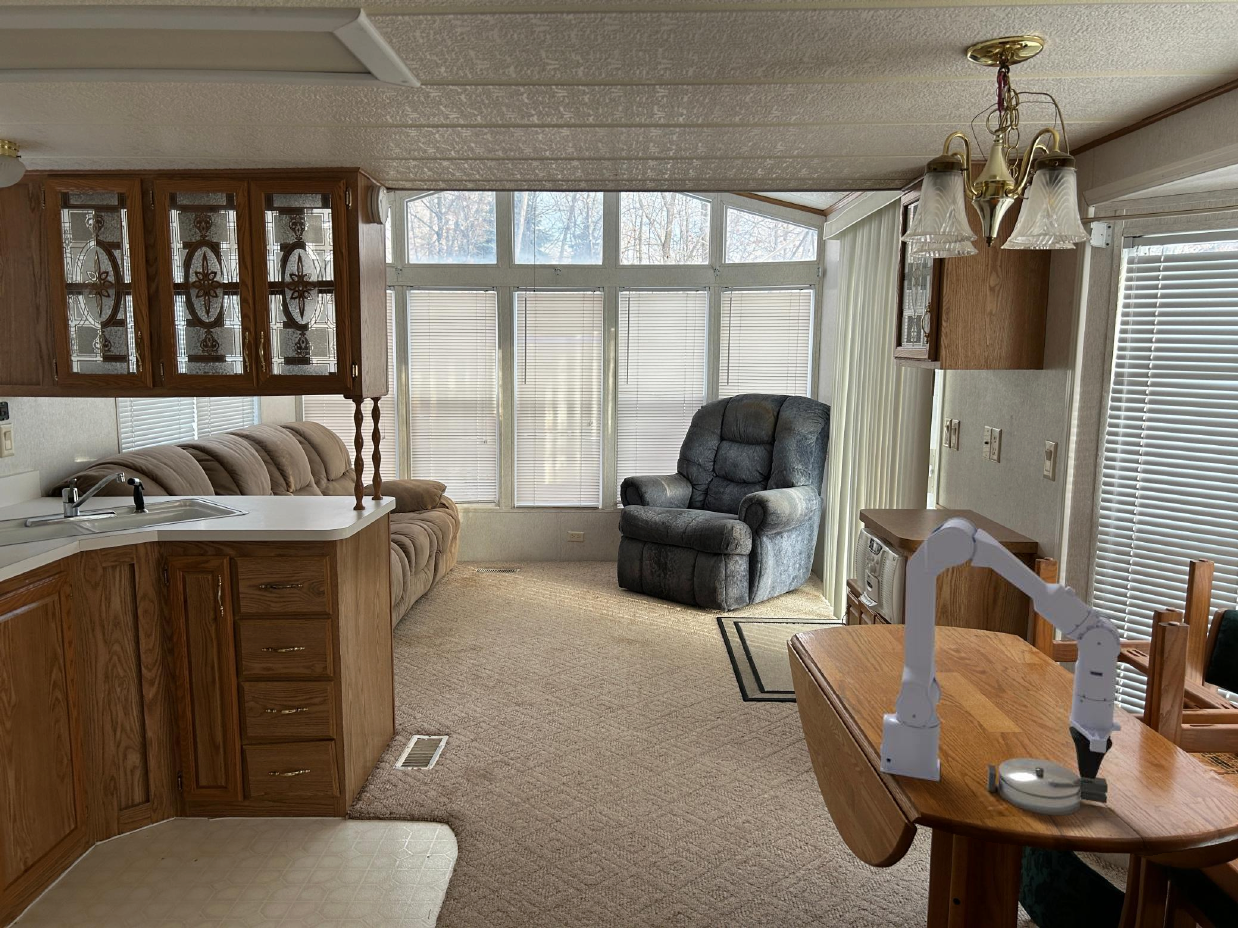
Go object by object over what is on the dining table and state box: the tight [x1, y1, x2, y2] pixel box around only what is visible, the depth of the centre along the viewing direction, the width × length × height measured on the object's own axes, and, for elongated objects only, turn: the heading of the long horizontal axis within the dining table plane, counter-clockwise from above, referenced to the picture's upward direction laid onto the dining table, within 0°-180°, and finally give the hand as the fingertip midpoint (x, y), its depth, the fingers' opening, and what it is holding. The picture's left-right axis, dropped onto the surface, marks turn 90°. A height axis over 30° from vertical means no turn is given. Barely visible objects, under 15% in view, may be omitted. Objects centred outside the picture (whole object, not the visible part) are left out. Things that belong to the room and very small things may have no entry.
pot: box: [987, 764, 1108, 816], centre depth 138 cm, size 17×12×3 cm
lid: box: [998, 757, 1108, 798], centre depth 138 cm, size 16×12×2 cm
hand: (1087, 776), depth 136 cm, fingers closed
